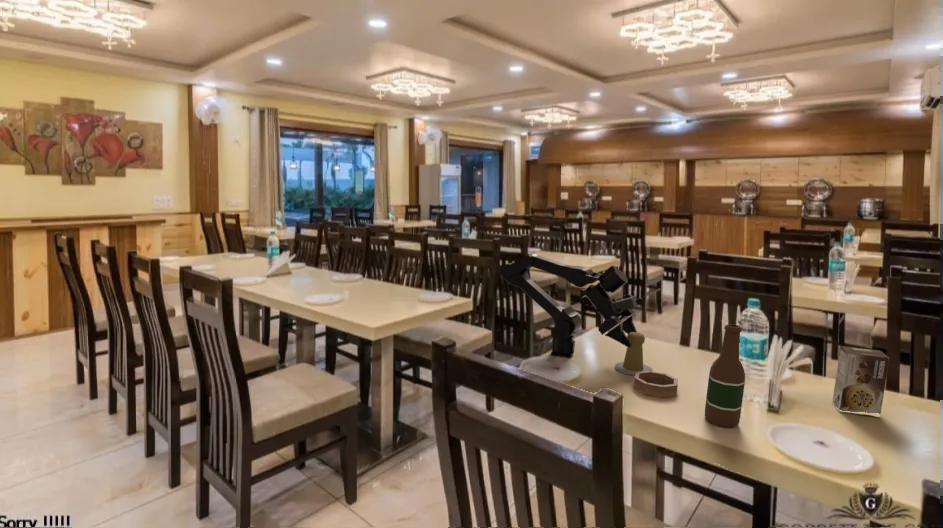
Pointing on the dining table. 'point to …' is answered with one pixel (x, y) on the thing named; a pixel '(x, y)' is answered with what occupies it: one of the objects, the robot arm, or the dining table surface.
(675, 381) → the guard ring
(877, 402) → the coffee box
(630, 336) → the cork
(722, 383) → the beer bottle
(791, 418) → the dining table surface
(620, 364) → the slate coaster
